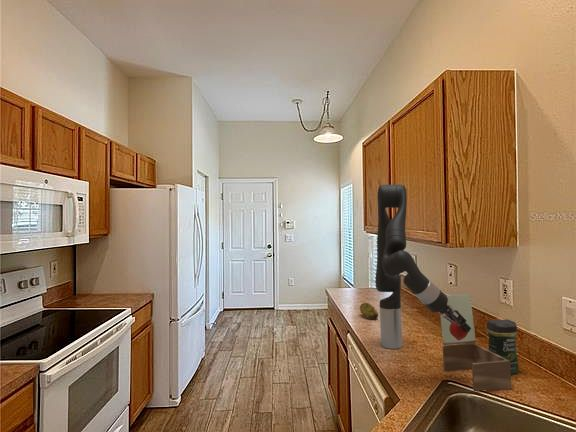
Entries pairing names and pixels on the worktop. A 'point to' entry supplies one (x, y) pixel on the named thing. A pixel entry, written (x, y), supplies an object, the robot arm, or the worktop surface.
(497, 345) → the coffee jar
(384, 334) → the robot arm
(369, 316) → the avocado
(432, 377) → the worktop surface
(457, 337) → the onion
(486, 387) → the cubby
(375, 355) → the worktop surface
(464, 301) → the lid
